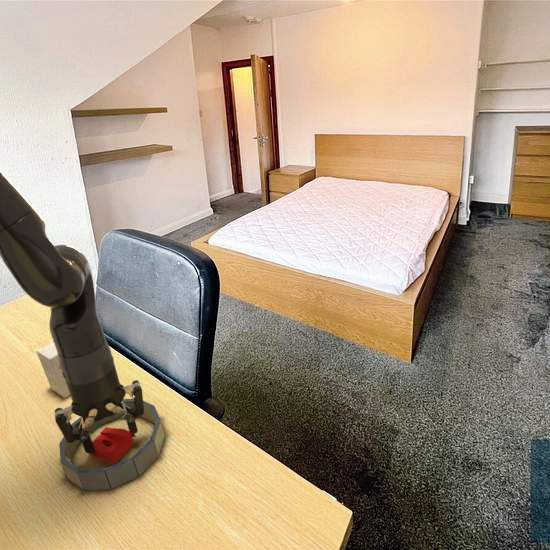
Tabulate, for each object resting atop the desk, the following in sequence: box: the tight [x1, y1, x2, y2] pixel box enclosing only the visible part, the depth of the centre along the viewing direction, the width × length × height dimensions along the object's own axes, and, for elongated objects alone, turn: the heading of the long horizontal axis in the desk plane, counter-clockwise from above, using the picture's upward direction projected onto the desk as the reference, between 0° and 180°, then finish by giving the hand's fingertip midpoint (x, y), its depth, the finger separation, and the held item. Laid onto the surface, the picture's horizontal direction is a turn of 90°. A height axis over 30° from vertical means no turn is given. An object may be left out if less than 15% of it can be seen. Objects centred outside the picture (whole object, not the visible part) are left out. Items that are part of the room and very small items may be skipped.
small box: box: [36, 341, 70, 399], centre depth 89 cm, size 8×6×10 cm
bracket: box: [87, 427, 134, 466], centre depth 72 cm, size 6×5×3 cm
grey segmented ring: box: [58, 398, 165, 491], centre depth 73 cm, size 17×17×4 cm
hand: (112, 442), depth 73 cm, fingers closed on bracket, 6 cm apart
